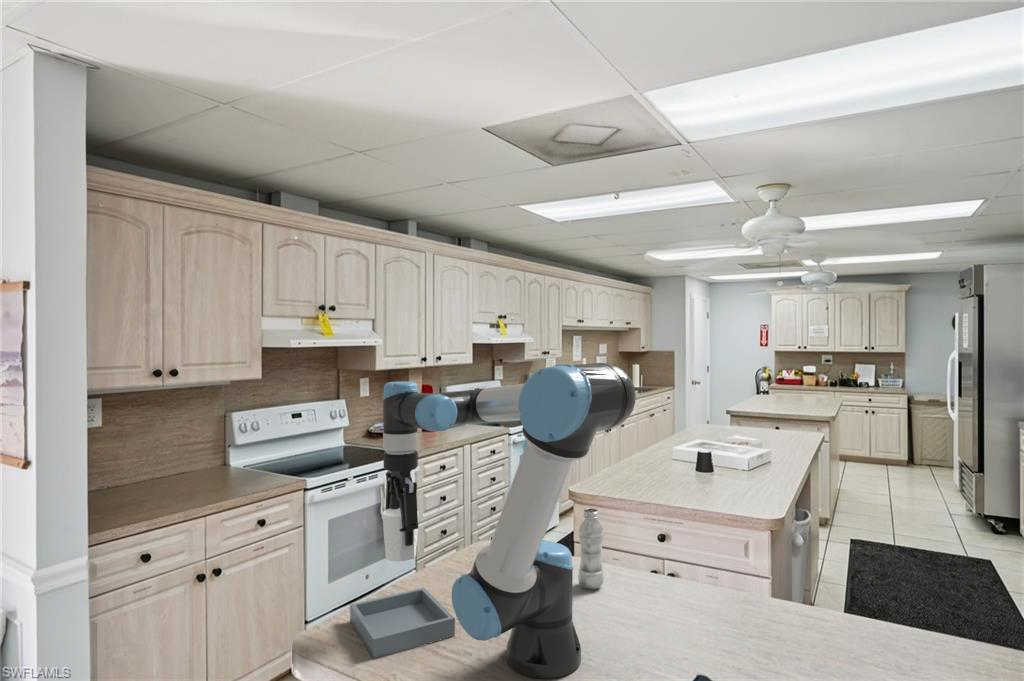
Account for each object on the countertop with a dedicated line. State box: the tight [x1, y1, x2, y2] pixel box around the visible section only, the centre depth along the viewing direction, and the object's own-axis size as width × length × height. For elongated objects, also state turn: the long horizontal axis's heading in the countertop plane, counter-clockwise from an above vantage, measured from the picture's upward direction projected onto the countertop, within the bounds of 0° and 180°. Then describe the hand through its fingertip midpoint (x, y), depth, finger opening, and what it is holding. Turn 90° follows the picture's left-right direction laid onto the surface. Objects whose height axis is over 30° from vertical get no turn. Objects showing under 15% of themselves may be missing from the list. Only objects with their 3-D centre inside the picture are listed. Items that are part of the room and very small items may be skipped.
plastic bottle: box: [577, 508, 605, 590], centre depth 153 cm, size 6×7×20 cm
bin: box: [349, 587, 456, 660], centre depth 132 cm, size 18×18×4 cm
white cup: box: [382, 508, 420, 562], centre depth 131 cm, size 8×8×10 cm
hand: (401, 553), depth 131 cm, fingers closed on white cup, 7 cm apart
